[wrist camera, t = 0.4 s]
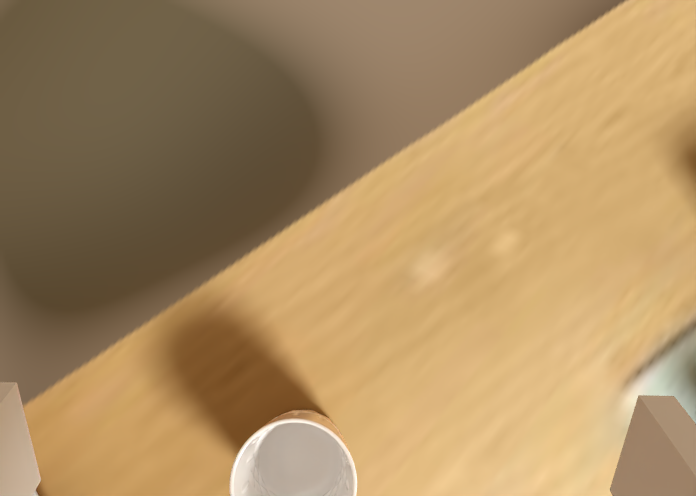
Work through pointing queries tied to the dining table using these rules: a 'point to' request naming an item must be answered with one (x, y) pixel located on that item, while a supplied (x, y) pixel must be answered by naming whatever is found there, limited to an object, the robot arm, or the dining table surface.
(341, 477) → the white cup
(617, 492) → the robot arm
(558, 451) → the dining table surface
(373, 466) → the dining table surface
